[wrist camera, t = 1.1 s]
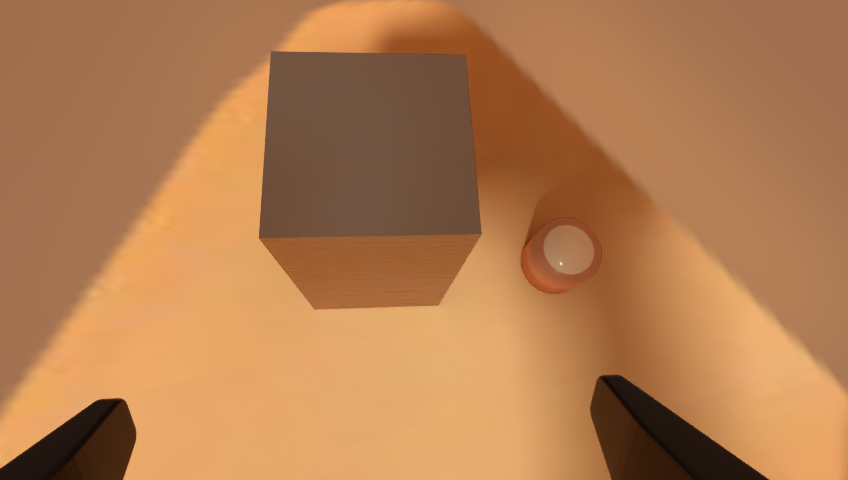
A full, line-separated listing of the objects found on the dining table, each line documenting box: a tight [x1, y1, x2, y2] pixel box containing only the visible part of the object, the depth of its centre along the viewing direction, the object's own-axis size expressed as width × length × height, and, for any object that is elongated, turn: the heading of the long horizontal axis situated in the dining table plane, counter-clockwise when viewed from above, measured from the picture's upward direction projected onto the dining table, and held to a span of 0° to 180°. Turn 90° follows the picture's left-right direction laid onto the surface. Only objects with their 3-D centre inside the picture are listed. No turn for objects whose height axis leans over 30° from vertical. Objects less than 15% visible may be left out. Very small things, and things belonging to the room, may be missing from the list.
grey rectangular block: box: [259, 51, 481, 309], centre depth 19 cm, size 6×6×11 cm
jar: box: [521, 218, 602, 294], centre depth 23 cm, size 3×3×2 cm
